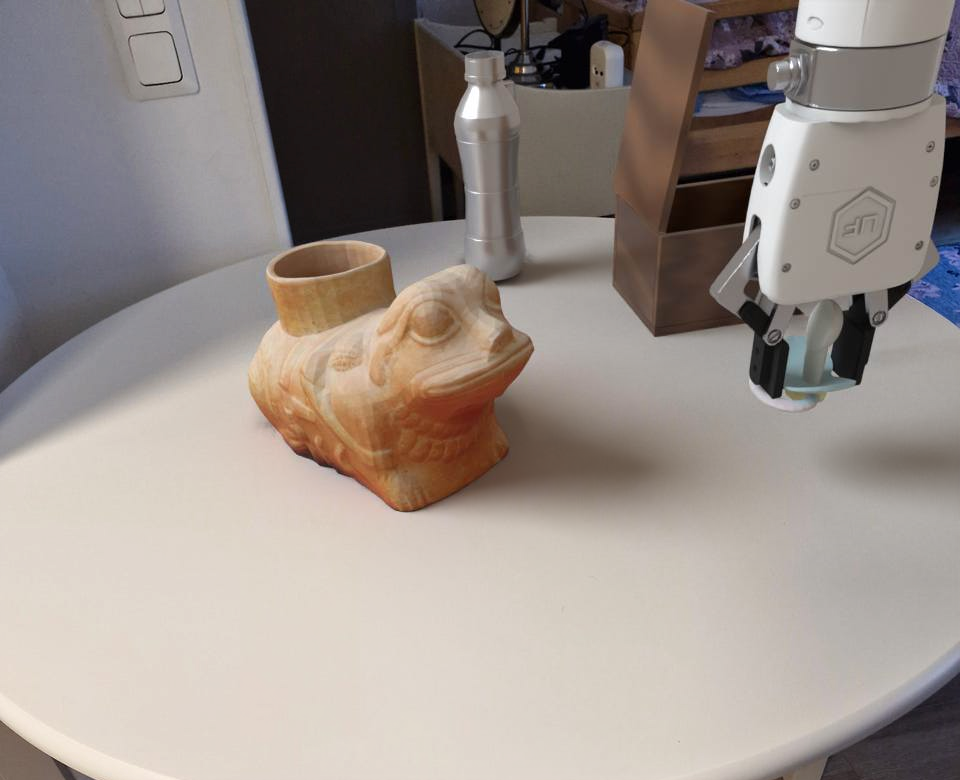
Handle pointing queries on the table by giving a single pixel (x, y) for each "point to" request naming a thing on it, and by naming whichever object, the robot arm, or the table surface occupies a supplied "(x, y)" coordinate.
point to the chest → (682, 256)
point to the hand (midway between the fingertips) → (805, 381)
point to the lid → (662, 106)
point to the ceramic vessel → (386, 370)
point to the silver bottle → (490, 168)
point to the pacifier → (810, 363)
